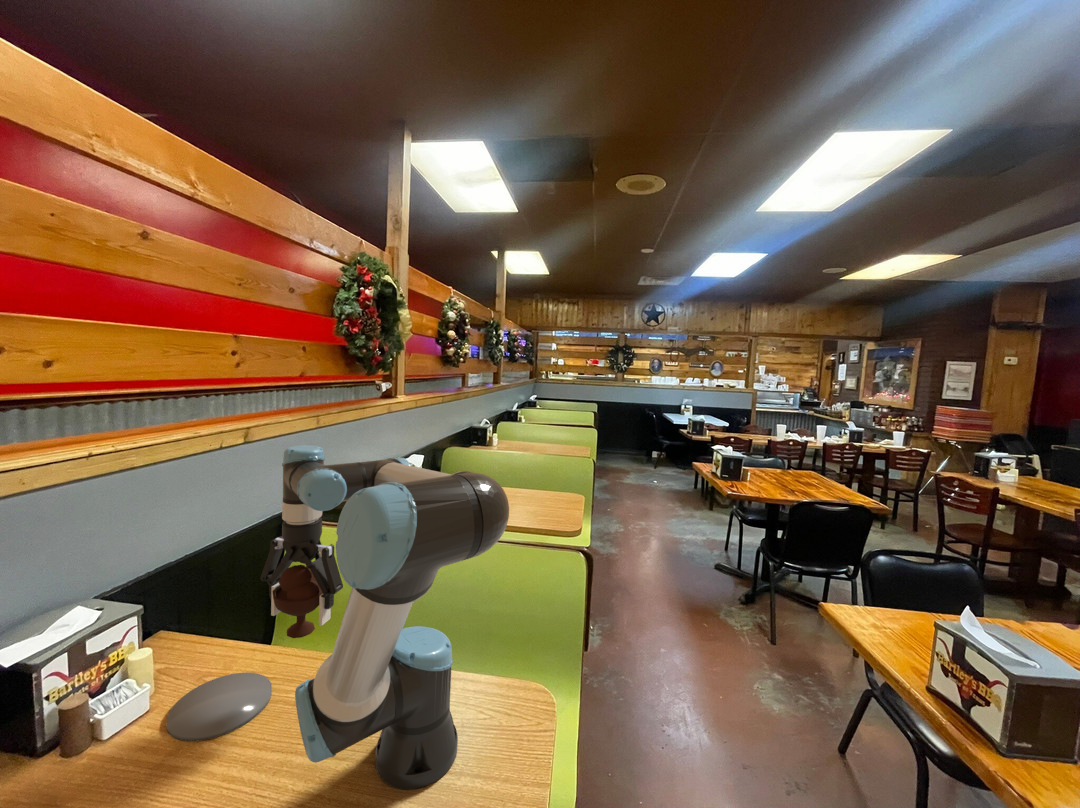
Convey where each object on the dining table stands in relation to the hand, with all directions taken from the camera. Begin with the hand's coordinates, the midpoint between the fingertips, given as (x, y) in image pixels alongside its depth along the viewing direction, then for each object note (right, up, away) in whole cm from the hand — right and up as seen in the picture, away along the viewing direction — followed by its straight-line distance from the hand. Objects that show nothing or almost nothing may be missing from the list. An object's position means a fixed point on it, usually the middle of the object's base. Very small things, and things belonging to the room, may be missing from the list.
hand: (300, 617), depth 95 cm
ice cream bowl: (0, -3, 0) cm, 3 cm away
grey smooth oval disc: (-16, -18, -2) cm, 24 cm away
